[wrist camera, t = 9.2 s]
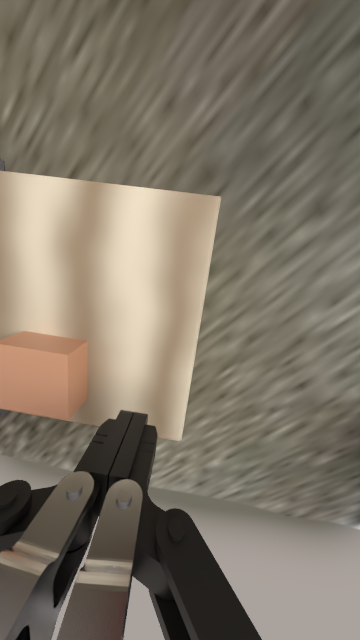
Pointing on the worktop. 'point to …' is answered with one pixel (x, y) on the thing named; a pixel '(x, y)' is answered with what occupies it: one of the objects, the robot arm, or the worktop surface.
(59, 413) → the terracotta tile
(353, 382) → the worktop surface
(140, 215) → the birch board
